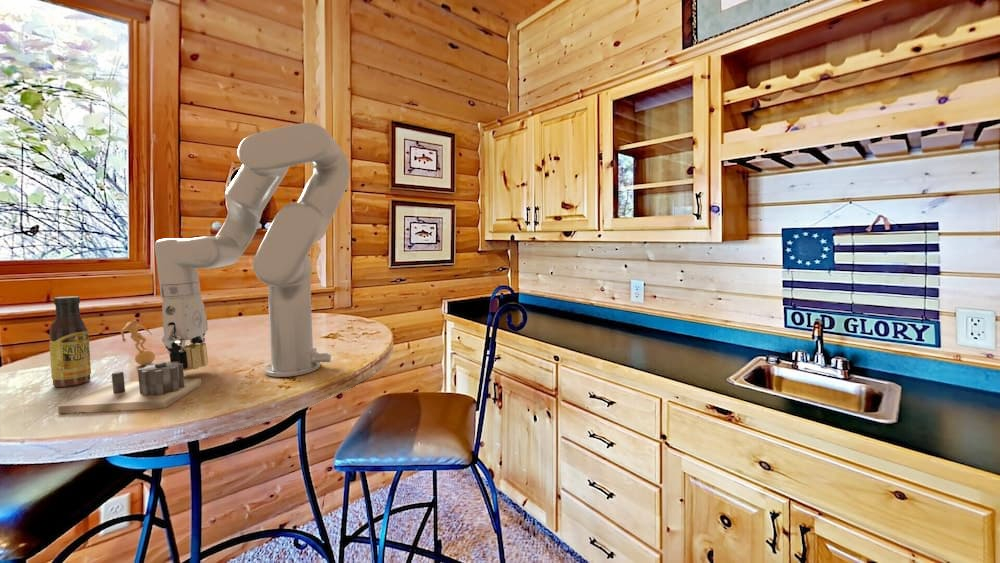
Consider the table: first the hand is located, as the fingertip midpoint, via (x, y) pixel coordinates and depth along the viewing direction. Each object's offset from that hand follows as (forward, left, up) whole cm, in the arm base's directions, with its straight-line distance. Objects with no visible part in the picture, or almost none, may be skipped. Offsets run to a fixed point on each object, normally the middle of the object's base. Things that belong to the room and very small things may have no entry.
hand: (189, 363), depth 100 cm
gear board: (+3, +14, -3) cm, 15 cm away
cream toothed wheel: (0, 0, -1) cm, 1 cm away
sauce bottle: (+23, +2, -3) cm, 23 cm away
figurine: (+17, -11, -3) cm, 20 cm away
